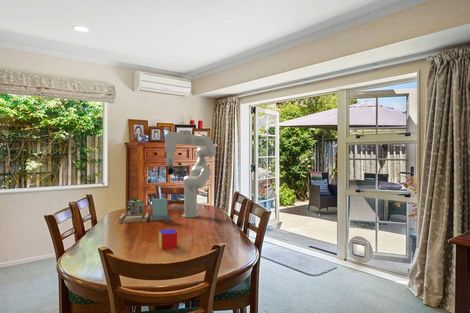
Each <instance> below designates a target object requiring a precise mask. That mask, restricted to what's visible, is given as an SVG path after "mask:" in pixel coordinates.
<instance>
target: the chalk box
mask: <svg viewBox="0 0 470 313" xmlns="http://www.w3.org/2000/svg"><path fill="white" fill-rule="evenodd" d="M131 198H132V200H128V201H126V215H139V214H145V213H144V210H145V209H144V207H145V206H144V200H141V199H140V200H139V199H137V196H132V197H131Z"/></svg>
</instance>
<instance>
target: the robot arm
mask: <svg viewBox="0 0 470 313" xmlns="http://www.w3.org/2000/svg"><path fill="white" fill-rule="evenodd" d="M177 144H178V145H186V146H192V147H193V146H194V147H197V148H196V159H197V160H196V162H195V164H194V165H193V167H192V168H191V170H190V174H187V175H185V176H184V177H183V180H182V184H183V191H184V194H183V197H184V199H183V200H184V201H183V202H184V203H183V204H184V206H183V209H184V211H183V214H182V215H181V216H182V218H189V219H191V218H198V217H199V213H198V212H197V211H198V205H197V204H198V202H197V201H198V199H197V198H198V194H197V190H196V189H202V188H204V187H205V185H206V184H207V182H208V180H209V179H210V176H211V174H212V170H211V168H210V166H209V165H207V164H208V163H207V162H208V161H207V159H206V158H207V157H209V158H212V157H215V156H216V154H217V148H216V146H215V145H214V143H213V141H212V139H211V137H210V136H208V135H198V134H197V135H196V134H191V133H184V132H182V131H181V132H180V131H177V132H174V131H167V132H165V134H164V149H165V150H164V151H165V153H166V164H165V166H166V167H168V168H167V175H168V176H169V175H170V176H171V175H173V174H174V172H175V171H174V170H175V169H174V165H175V153H176V152H177Z"/></svg>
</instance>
